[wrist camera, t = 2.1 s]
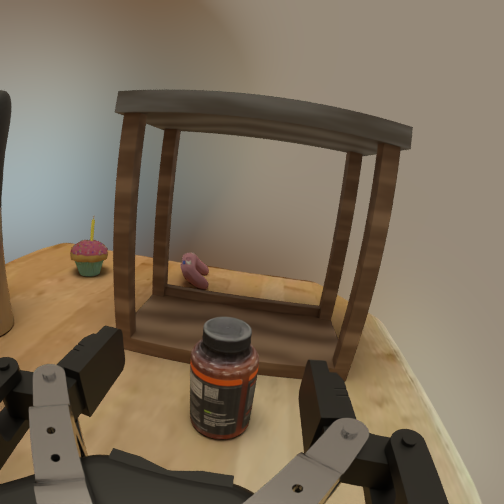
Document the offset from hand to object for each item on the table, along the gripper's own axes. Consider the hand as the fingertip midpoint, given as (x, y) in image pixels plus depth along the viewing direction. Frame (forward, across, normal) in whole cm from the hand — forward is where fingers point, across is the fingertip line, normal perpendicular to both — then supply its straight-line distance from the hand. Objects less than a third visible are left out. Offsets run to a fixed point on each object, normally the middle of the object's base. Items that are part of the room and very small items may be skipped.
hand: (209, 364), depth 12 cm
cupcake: (+43, +34, +15) cm, 57 cm away
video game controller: (+49, +11, +15) cm, 53 cm away
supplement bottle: (+12, 0, +16) cm, 20 cm away
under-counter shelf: (+28, 0, +15) cm, 32 cm away
